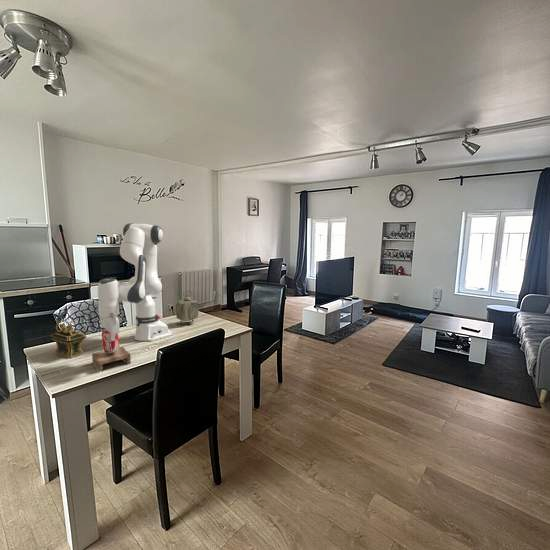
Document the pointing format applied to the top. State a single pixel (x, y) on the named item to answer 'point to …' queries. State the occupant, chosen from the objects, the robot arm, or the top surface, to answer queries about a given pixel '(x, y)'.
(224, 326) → the top surface
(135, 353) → the top surface
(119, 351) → the walnut shelf
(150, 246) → the robot arm
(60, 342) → the decorative box
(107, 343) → the soda can
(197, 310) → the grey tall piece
